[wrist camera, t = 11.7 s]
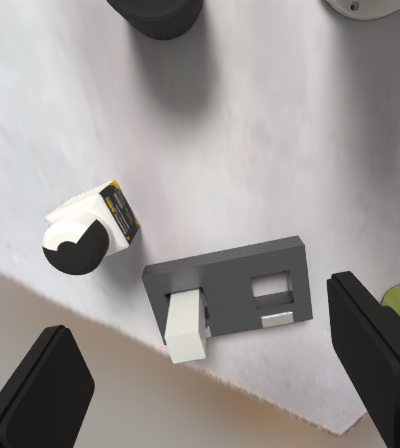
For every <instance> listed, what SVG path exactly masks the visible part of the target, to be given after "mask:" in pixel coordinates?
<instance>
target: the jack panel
mask: <svg viewBox="0 0 400 448" xmlns="http://www.w3.org/2000/svg"><path fill="white" fill-rule="evenodd" d="M282 271H286V276H287V283H288V290H289V291H286V292H280V293H275V294H270V295H264V296H259V297H254V296H253V291H252V286H251V281H250V278H251V277H256V276H261V275H266V274H272V273H277V272H282ZM142 280H143V283H144V286H145V289H146V292H147V295H148V297H149V300H150V303H151V306H152V309H153V312H154V315H155V318H156V321H157V324H158V327H159V330H160V333H161V336H162V339H163V342H164V345H167V344H166V341H165V338H164V337H165V331H166V325H167V318H168V312H169V306H170V300H171V295H170V293H172V292H177V291H183V290H188V289H193V288H198V287H203V291H204V295H205V299H206V303H207V306H205V332H206V338H208V337H214V336H220V335H225V334H231V333H237V332H242V331H248V330H254V329H259V328H265V327H271V326H276V325H282V324H288V323H293V322H299V321H305V320H310V319H313V315H312V306H311V297H310V288H309V279H308V270H307V262H306V253H305V245H304V243H303V242H302V241H301V239H300V238H299V237H298V236H293V237H288V238H283V239H278V240H273V241H268V242H263V243H258V244H253V245H248V246H243V247H238V248H233V249H228V250H223V251H218V252H213V253H208V254H203V255H198V256H193V257H188V258H183V259H178V260H173V261H168V262H163V263H158V264H153V265H148V266H145V268H144V271H143V274H142Z"/></svg>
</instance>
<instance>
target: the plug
mask: <svg viewBox="0 0 400 448" xmlns="http://www.w3.org/2000/svg"><path fill="white" fill-rule="evenodd" d="M164 338H165V341H166V344H167V347H168V350H169V353H170V356H171V358H172V361H173V364H174V363H180V362H183V363H184V362H190V361H196V360H199V359H203V358H206V332H205V300H204V297H203V293H202V289H201V287H198V288H193V289H188V290H183V291H177V292H172V293H171V300H170V306H169V312H168V318H167V325H166V331H165V337H164Z"/></svg>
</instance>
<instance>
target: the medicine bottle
mask: <svg viewBox="0 0 400 448" xmlns="http://www.w3.org/2000/svg"><path fill="white" fill-rule="evenodd" d="M45 220H46V222H47V223H48V225H49V226H50V228H49V229H48V230H47V231H46V233H45V235H44V237H43V241H42V247H43V252H44V254H45V257H46V258H47V260H48V261H49V262H50V264H51V265H52V266H54V267H55V268H56V269H58V270H59V271H61V272H63V273H66V274H70V275H84V274H87V273H90V272H92V271H93V270H94V269H96V268H97V266H98V265H99V264H100V262H101V261H102V259H103V258H104V257H107V256H109V255H112V254H114V253H117V252H119V251H122V250H124V249H127V248H128V247H129V245H130V243H131V241H132V239H133V238H134V236H135V234H136V232H137V230H138V228H139V223H138V221H137V219H136V217H135V216H134V214H133V212H132V210H131V208H130V206H129V204H128V203H127V201H126V199H125V197H124V195H123V193H122V191H121V190H120V188H119V186H118V184H117V182H116V181H115V180H112V181H110V182H107V183H105V184H103V185H101V186H98V187H96V188H94V189H92V190H89V191H87V192H85V193H83V194H80V195H78V196H76V197H74V198H72V199H69V200H68V201H67V202H65V203H64V204H62V205H61V206H60V207H58V208H57V209H55V210H54V211H53V212H51V213H50V214H48V215H47V216H46V217H45Z"/></svg>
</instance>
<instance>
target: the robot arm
mask: <svg viewBox="0 0 400 448" xmlns="http://www.w3.org/2000/svg"><path fill="white" fill-rule="evenodd" d="M326 1H327V2H328V3H329V4H330V5H331V6H332V7H333V8H334V9H335V10H336V11H337V12H339V13H341V14H342V15H344V16H346V17H349V18H353V19H358V20H371V19H377V18H380V17H383V16H386V15H389V14H391V13H393V12H394V11H396V10H399V9H400V0H326ZM351 6H352V7H353V10H351V8H350V7H351ZM327 292H328V303H329V315H330V326H331V337H332V344H333V347H334V350H335V352H336V354H337V356H338V358H339V359H340V361H341V363H342V365H343V367H344V369H345V370H346V372H347V374H348V376H349V378H350V380H351V381H352V383H353V385H354V387H355V389H356V391H357V393H358V394H359V396H360V398H361V400H362V402H363V404H364V405H365V407H366V409H367V411H368V413H369V415H370V416H371V418H372V420H373V422H374V424H375V426H376V428H377V429H378V431H379V433H380V435H381V437H382V439H383V440H384V442H385V444H386V446H387V448H400V316H399V315H398V314H397V312H396V311H395V310H394V309H393V308H391V307H390V306H387V305H386V306H381V305H380V304H379V302H378V301H377V300H376V299H375V298H374V297H373V296H372V295H371V293H370V292H369V291H368V290H367V289H366V288H365V287H364V286H363V285H362V283H361V282H360V281H359V280H358V279H357V278H356V277H355V276H354V275H353V273H352V272H350V271H346V272H341V273H335V274H332V276H331V279H328V280H327ZM94 388H95V385H94V380H93V378H92V376H91V374H90V371H89V369H88V367H87V365H86V363H85V361H84V359H83V356H82V355H81V352H80V350H79V348H78V346H77V344H76V342H75V339H74V337H73V335H72V333H71V331H70V329H68V328H65V326H63V325H58V326H53V327H47V328H45V329H44V331H43V332H42V333H41V334H40V336H39V337H38V339H37V340H36V342H35V343H34V345H33V346H32V347H31V349H30V350H29V352H28V353H27V354H26V356H25V357H24V359H23V360H22V362H21V363H20V365H19V366H18V367H17V369H16V370H15V372H14V373H13V374H12V376H11V377H10V379H9V380H8V381H7V383H6V385H5V386H4V387H3V389H2V390H1V392H0V448H73V446H74V444H75V441H76V438H77V436H78V433H79V430H80V428H81V425H82V422H83V420H84V417H85V414H86V411H87V409H88V406H89V404H90V401H91V398H92V396H93V393H94Z"/></svg>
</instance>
